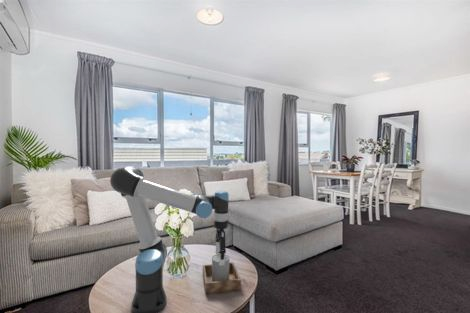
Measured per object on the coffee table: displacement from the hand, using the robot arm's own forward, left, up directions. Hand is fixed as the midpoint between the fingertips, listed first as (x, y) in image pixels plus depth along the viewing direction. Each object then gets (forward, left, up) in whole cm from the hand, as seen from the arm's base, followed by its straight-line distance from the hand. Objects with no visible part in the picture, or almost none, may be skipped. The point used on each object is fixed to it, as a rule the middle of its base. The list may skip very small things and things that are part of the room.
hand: (219, 259), depth 127 cm
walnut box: (0, 0, -13) cm, 13 cm away
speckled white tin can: (0, 0, -12) cm, 12 cm away
